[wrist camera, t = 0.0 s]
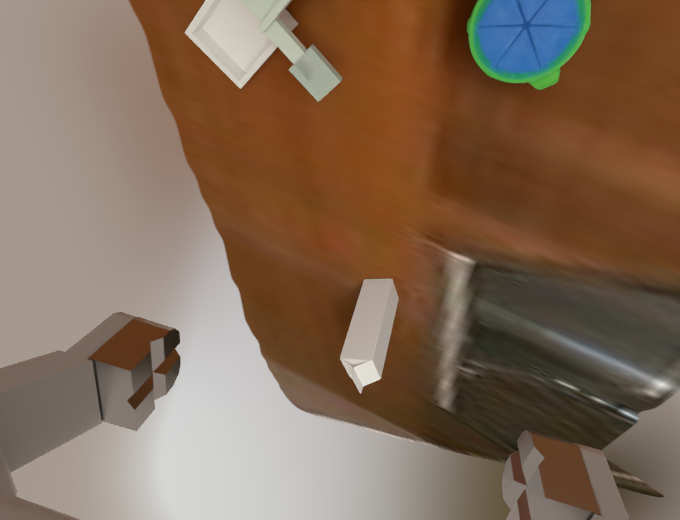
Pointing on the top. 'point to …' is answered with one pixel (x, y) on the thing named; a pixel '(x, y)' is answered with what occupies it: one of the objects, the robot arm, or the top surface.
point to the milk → (370, 331)
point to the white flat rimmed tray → (233, 37)
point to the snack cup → (527, 38)
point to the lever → (295, 49)
